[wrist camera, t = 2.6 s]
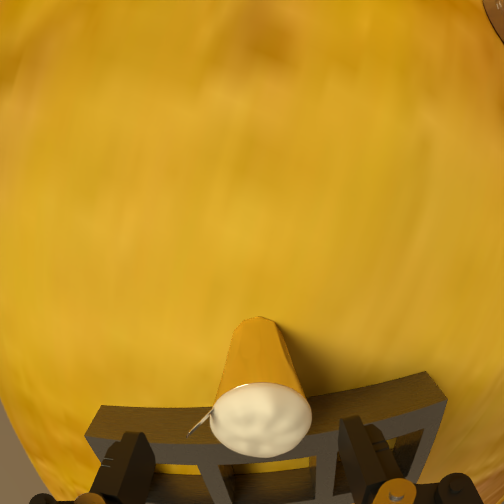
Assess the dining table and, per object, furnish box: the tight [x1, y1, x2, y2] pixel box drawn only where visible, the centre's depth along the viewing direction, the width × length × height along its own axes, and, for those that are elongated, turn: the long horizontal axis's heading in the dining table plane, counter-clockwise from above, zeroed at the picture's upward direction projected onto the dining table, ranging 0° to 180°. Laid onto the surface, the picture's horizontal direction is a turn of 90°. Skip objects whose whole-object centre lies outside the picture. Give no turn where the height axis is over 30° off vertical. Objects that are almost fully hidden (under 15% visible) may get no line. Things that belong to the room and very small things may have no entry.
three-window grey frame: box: [84, 371, 448, 504], centre depth 21 cm, size 27×12×4 cm, turn 97°
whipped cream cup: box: [186, 317, 312, 458], centre depth 15 cm, size 4×5×10 cm
